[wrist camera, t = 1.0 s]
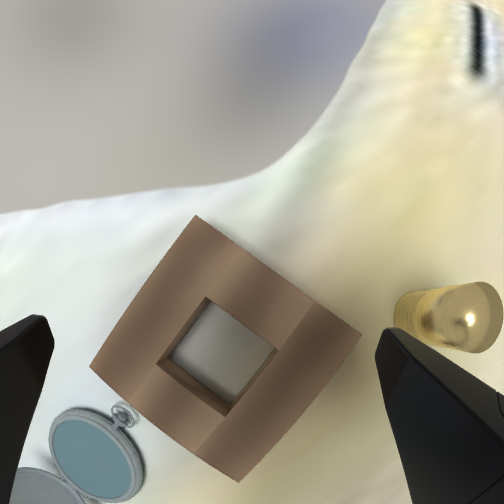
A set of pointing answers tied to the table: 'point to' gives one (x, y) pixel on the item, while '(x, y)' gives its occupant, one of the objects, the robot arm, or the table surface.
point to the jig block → (246, 312)
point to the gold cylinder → (452, 316)
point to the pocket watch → (83, 463)
